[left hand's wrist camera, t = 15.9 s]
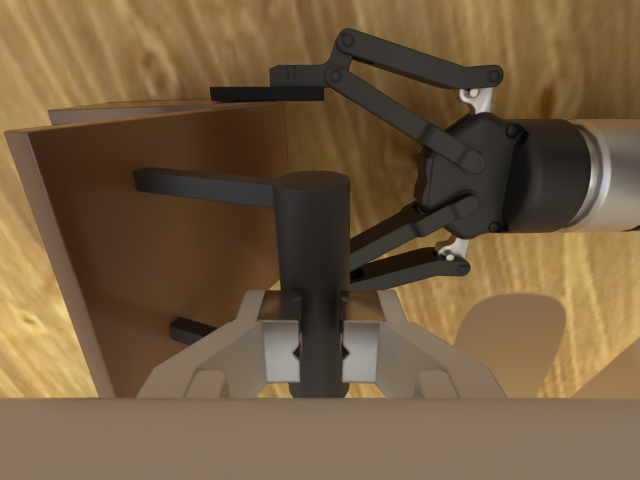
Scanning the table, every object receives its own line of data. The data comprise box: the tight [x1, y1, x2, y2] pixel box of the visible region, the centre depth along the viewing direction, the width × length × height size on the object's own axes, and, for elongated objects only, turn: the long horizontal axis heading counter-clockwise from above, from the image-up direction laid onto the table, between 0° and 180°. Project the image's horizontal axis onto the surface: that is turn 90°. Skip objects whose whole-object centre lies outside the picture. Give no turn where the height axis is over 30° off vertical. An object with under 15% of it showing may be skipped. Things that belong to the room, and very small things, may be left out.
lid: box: [4, 102, 350, 398], centre depth 15 cm, size 13×10×8 cm
